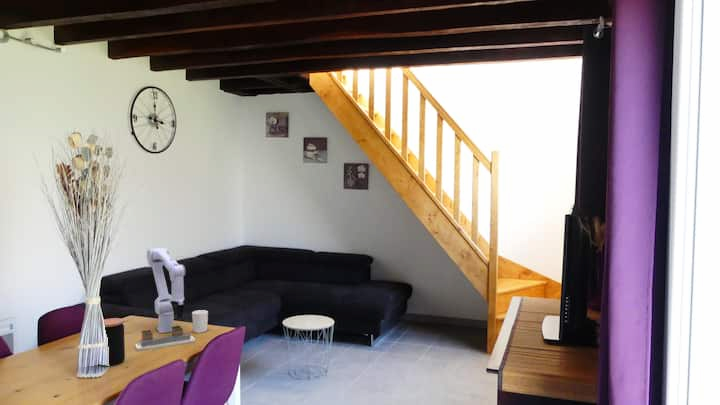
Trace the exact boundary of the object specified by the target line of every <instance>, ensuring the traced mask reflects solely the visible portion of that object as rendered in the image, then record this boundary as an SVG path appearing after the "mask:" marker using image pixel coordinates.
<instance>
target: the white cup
mask: <svg viewBox="0 0 720 405" xmlns="http://www.w3.org/2000/svg"><path fill="white" fill-rule="evenodd" d="M191 315H192V317H191V318H192V327H193V328H192V329H193V332H194V333H197V334H198V333H199V334H200V333H205V332H207V331H208V320H209V317H208V316H209V311H208V310H206V309H202V310H201V309H199V310H193V311H192V312H191Z"/></svg>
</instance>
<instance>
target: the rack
mask: <svg viewBox="0 0 720 405" xmlns="http://www.w3.org/2000/svg"><path fill="white" fill-rule="evenodd" d="M183 332H184V331H183V327H181V325H180V324H179V325H174V326H172V331H171V335H167V336H159V337H154V336H153V335H154V334H153V333H154V332H153V331H152V330H151V329H146V330H141V339H140V342H141V341H144V340H151V339H158V338H165V337H171V336H178V335H184V334H183Z"/></svg>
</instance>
